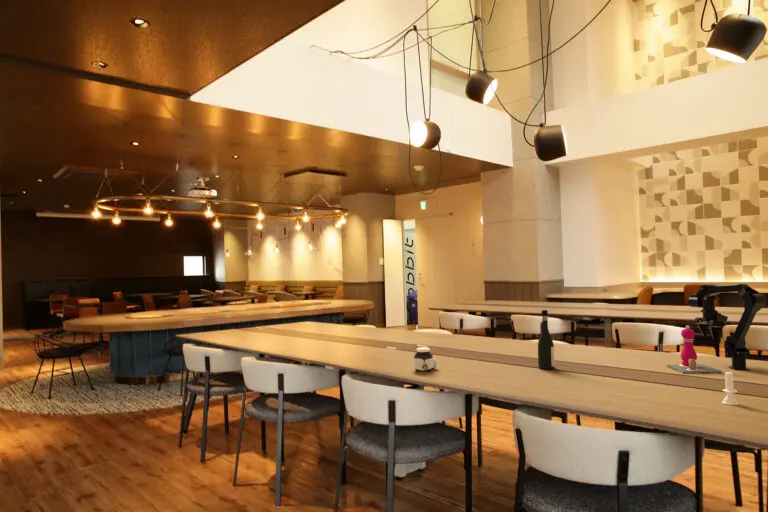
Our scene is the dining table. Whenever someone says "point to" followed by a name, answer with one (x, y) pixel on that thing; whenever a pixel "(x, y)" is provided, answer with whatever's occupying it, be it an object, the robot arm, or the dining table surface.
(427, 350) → the spread jar
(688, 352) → the pepper mill
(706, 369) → the board
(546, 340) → the wine bottle
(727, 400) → the candle
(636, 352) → the dining table surface
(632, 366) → the dining table surface
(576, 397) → the dining table surface
